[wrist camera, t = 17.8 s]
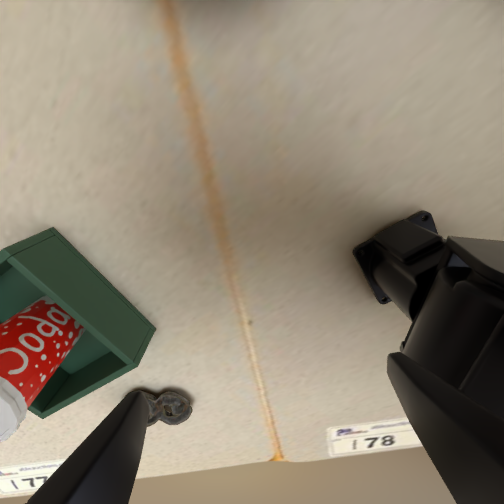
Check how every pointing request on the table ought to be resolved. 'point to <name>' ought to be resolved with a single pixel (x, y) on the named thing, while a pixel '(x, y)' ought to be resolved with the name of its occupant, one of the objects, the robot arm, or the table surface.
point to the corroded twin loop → (178, 407)
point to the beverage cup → (31, 357)
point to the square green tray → (73, 316)
